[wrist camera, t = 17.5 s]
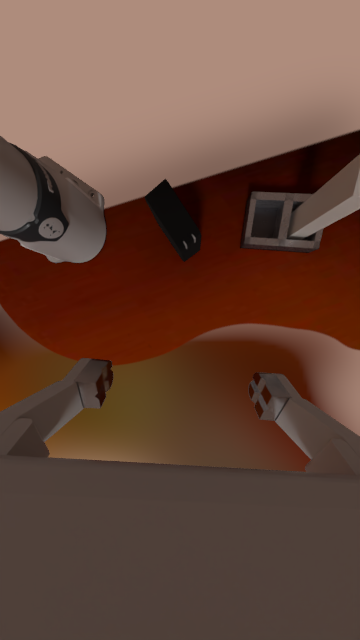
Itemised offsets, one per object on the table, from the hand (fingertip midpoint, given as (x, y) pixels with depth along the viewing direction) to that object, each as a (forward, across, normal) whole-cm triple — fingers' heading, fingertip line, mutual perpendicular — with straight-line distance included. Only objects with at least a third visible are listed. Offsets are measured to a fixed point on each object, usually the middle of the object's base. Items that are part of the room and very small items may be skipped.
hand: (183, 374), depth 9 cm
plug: (+30, -22, -11) cm, 38 cm away
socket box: (+30, -18, -11) cm, 37 cm away
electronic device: (+32, +1, -7) cm, 33 cm away
